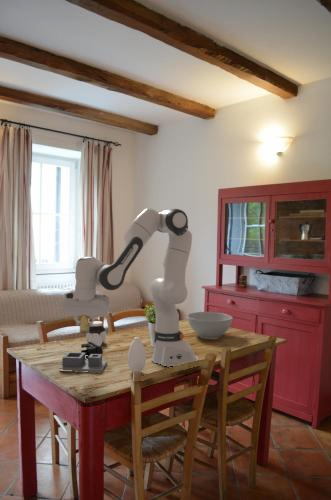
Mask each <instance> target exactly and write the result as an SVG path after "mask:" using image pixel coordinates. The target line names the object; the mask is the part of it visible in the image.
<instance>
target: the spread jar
mask: <svg viewBox="0 0 331 500" xmlns="http://www.w3.org/2000/svg"><path fill="white" fill-rule="evenodd" d="M106 335H107V332H106V328H105V327H104V326H103V321H101V320H94V322H93V326H92V327H89V333H86V334H85V336H86V337H85V339H86V343H89V342H93V343H95V344H96V345H98V346H100V347H101V346H102V345H103V344H102V343H105V342H106V338H107V337H106Z"/></svg>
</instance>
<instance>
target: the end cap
mask: <svg viewBox="0 0 331 500" xmlns="http://www.w3.org/2000/svg"><path fill="white" fill-rule="evenodd" d="M80 347H81V349H82V348H84V349H82V350H80V352H83V353H85V355H88V356H86V358H87V359H88V357H89V356H90V355H91V354H102V355H103V353H104V352H103V351H104V350H103V347H101V345H100V346H98V345H96V344H95V343H93V342H89V343H88V342H86V343H82V344H80ZM85 348H86V349H85Z"/></svg>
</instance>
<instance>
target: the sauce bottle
mask: <svg viewBox="0 0 331 500" xmlns="http://www.w3.org/2000/svg"><path fill="white" fill-rule="evenodd" d="M138 335H139V334H138V331H137V332H136V336H135V337H134V338H133V340H132V341H131V344H130V345H129V349H128V352H127V366H128V368H129V370H130V371H131V372H132V371H134V370H140V371H141V372H142V371H144V368H145V365H146V360H147V356H146V355H147V353H146V349H145V346H144V344H143V342H142V340H141V338H140V337H139V336H138Z"/></svg>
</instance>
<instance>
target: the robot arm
mask: <svg viewBox="0 0 331 500" xmlns="http://www.w3.org/2000/svg"><path fill="white" fill-rule="evenodd" d="M188 220H189V219H188V216H187V213H186V212H185V211H183V210H182V209H180V208H169V209H168V208H167V209H165V210H160V211H156V210H155V209H153V208H145V209H143V211H141V212H140V213H139V214H138V215H137V216H136V217H135V218H134V219H133V220H132V221H131V222H130V224H129V225H128V227H127V228H126V231H125V232H124V235H123V237H124V241H125V246H124V248H123V249H122V251H121V253H120V254H119V255H118V257H117V258H116V259H115V261H114V262H112V264H107V263H106V262H103V261H101V260H99V259H97V258H96V257H95V256H84V257H80V258H79V259H78V260H77V261H76V264H75V265H76V266H75V275H74V276H75V286H74V290H70V291H67V292H65V293H64V294H63V300H62V302H61V305H60V313H61V315H62V316H70V317H71V316H72V317H73V320H74V321H75V325H76V327H80V319H78V318H79V317H80V316H81V315H87V316H90V318H91V319H92V320H91V321H89V327H92V326H93V322H94V321H96V317H99V318H101V317H102V318H106V317H108V315H109V311H110V310H109V309H110V308H109V304H110V298H109V296H107V295H105V294H97V292H96V291H97V286H101V287H103V288H104V289H106V290H108V291H114V290H118V289H119V288H120V287H122V285H123V284H124V281H125V278H126V274H127V272H128V270H129V269H130V267H131V266H132V265H133V263H134V261H135V259H136V258H137V257H138V255H139V253H140V252H141V251H142V250H143V248H144V247H145V246H146V244H147V243H148V242H149V240H150V239H152V237H153V235H154V234H155V233H156V232H157V231H158V232H160V233H163V234H164V233H166V234H168V243H167V246H166V247H167V248H166V250H165V255H164V258H163V261H162V262H163V263H162V264H163V265H162V266H163V269H164V272H163V273H164V275H163V276H162V277H158V278H155V279H153V280H152V281H151V283H150V286H149V290H150V294H151V295H152V299H153V306H154V313H155V330H154V332H153V333H154V334H153V335H154V336H153V342H154V347H153V351H152V352H153V354H152V356H151V362H152V361H153V362H152V363H154V364H156V363H158V364H157V365H160V364H161V365H160V366H162V365H163V366H162V367H164V366H167V368H168V367H169V368H171V367H170V366H174V365H178V364H182V363H186V362H190V361H196V360H199V361H200V359H199V357H198V356H197V355H195V350H194V348H193V345H192V344H190V343H188V342H187V341H186V340H185V339H184V337H185V335H184V332H183V331H180V330H179V329H180V314H179V311H178V309H177V306H176V305H180V304H182V303H183V302H185V300H186V299H188V298H187V296H188V288H187V287H186V271H187V270H186V269H187V265H188V261H189V257H190V253H191V248H192V242H193V241H192V240H193V234H192V231H190V230H189V225H188V224H189V221H188Z"/></svg>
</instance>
